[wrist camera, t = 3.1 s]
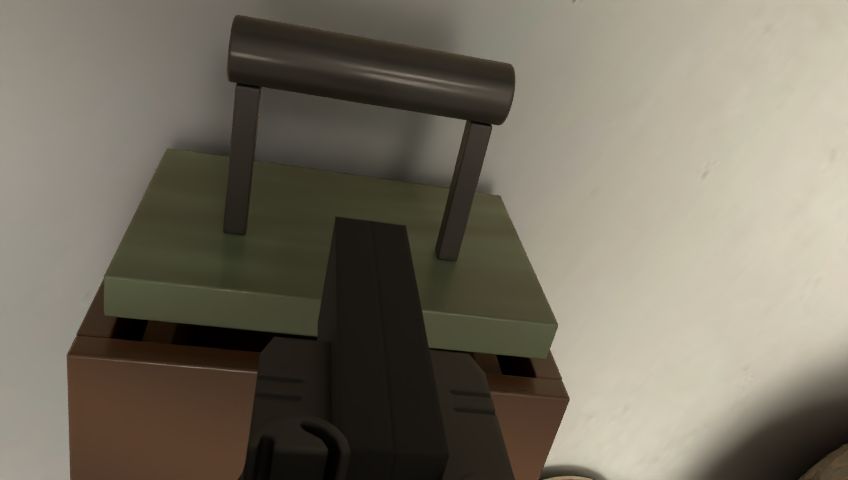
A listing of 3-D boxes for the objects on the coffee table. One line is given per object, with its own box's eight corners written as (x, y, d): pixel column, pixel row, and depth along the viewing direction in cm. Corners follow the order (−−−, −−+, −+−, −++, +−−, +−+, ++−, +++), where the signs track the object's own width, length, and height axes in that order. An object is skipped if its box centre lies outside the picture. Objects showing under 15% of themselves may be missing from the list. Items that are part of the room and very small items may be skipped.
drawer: (175, -38, 21) (103, 29, 15) (546, 33, 23) (633, 119, 17) (153, 449, 30) (102, 629, 24) (423, 467, 32) (447, 636, 26)
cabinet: (151, 179, 25) (65, 354, 17) (499, 226, 28) (571, 398, 20) (141, 479, 32) (76, 708, 24) (421, 495, 35) (450, 708, 26)
